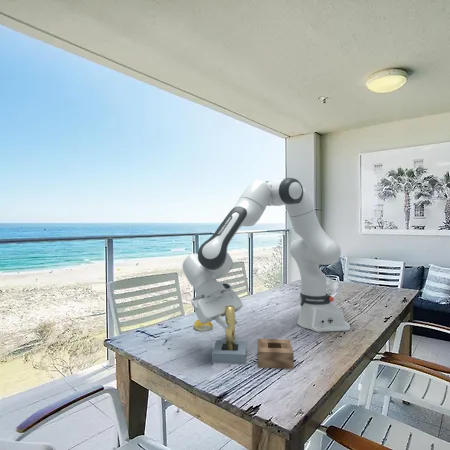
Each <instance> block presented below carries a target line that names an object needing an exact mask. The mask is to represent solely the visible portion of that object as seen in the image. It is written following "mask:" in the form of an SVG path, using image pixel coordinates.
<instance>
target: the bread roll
mask: <svg viewBox="0 0 450 450" xmlns="http://www.w3.org/2000/svg"><path fill="white" fill-rule="evenodd" d="M192 325H193V328H194V330H196V331H199V332H207V331H210V330H212V328H213V323H212V321H210V322H207V323H204V324H203V323H201V322H200V321H199V319H198V318H197V319H196V321H194V323H193V324H192Z"/></svg>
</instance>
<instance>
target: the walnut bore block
mask: <svg viewBox="0 0 450 450" xmlns="http://www.w3.org/2000/svg"><path fill="white" fill-rule="evenodd" d="M257 368H264V369H285V370H294V351H293V346H292V344H291V340H290V339H283V338H282V339H281V338H279V339H278V338H259V337H258V338H257Z"/></svg>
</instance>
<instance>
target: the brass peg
mask: <svg viewBox="0 0 450 450" xmlns="http://www.w3.org/2000/svg"><path fill="white" fill-rule="evenodd" d="M235 316H236V312H235V306H232V305H228V306H225V316H224V317H225V318H224V319H225V320H224V321H225V322H228V324H229V327H228V328H227V329H224V330H225V338H224V339H225V340H224V341H225V346H226V350H229V351H235V341H236V338H235V337H236V336H235V335H236V334H235V333H236V329H235V328H236V325H235Z"/></svg>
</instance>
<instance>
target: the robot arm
mask: <svg viewBox="0 0 450 450" xmlns="http://www.w3.org/2000/svg"><path fill="white" fill-rule="evenodd" d="M267 206H268V207H269V206H271V207H273V206H274V207H275V206H276V207H278V206H279V207H280V206H285V207H286V209H287V213H288V217H289V219H290V223H291V226H292V229H293V231H294V233H295V234H297V236H300V238H297V239H294V240H292V241H291V243H290V247H289V253H290V255H291V257H292V258H293V259H294V261H295V262H296V265H297V267H298V269H299V270H298V271H299V274H300V290H301V291H300V293H299V294H300V295H299V304H300V307H299V316H298V318H297V319H298V320H297V325H298V326H300V327H301V328H304V329H308V330H311V331H313V332H318V333H319V332H321V333H322V332H339V331H340V332H342V331H343V332H345V331H350V330H351V325H350V324H349V322H348V321H346V320H345V316H344V313H343V311H341V309H339V308H338V307H337V306H336V305H335V304H333V302H334V301H335V299H334V297H333V296H331V295H330V294H328V293H327V286H328V285H327V279H328V278H327V276H326V275H325V273H324V272H323V271H322V270H321V269H320V266H319V265H324V266H325V265H326V266H328V265H335V264H337V263H338V262H339V260H340V259H341V252H342V251H341V248H340V244H338V243H337V242H336V241H334V240H333V239H331V237H329V235H328V234H327V233H326V231H324V229H323V227H322V226H321V224H320V221H319V219H318V216H317V214H316V211H315V208H314V205H313V202H312V199H311V196H310V195H309V193H308V192H307V190H306V188H304V187H303V185H302V184H301V182H300V181H299V180H298V179H297V178H294V177H286V178H276V179H273V180H269V181H268V180H267V181H265V180H262V179H255V180H253V181H251V182H250V183H249V185H248V186H247V187H246V188H245V189H244V191H243V192H242V194H241V195H240V197H239V198H238V200H237V202H236V203H235V205H234V206H233V208H232V209H231V210H230V211H229V212H228V213H227V215H226V216H225V218H224V219H223V221H222V222H221V223H220V224H219V226H218V227H217V229H216V230H215V232H214V233H213V234H212V235H211V236H210V237H209V238H208V239H207V240H204V242H202V244H201V245H200V246H199V248H198V250H197V253H191V254H189V255H188V256H187V257H186V258H185V259H184V261H183V262H182V271H183V273H184V275H185V277H186V279H187V281H188V283H189V284H190V286H191V287H193V289H194V293H195V294H196V296H195V297H193V298H192V299H191V305H192V307H193V310H194V313H195V314H196V317H197V320H198V319H199V321H200V322H201V323H203V324H204V323H207V322H210V321H211V322H212V321H215V322H216V323H217V324H219V325H220V326H221V327H222V329H223V330H225V329H227V328H228V327H229V324H228V322H225V320H224V319H223V317H225V306H228V305H232V306H235V313H236V312H237V313H238V311H240V310H241V309H242V308H243V307H244V304H243V302H242V300H241V298H240V297H239V295H238V294H237V293H236V292H235V290H233V287H232V285H231V284H230V283H226V282H220V281H218V280H217V279H220V278H221V277H223V276H225V275H228V273H229V272H230V271H231V269H233V268H232V267H233V259H232V257H231V255H230V254H229V252H228V246H229V244H230V243H231V242H232V240H233V238H234V237H235V235H236V234H237V232H238V230H239V229H241V227H252V226H254V225H256V223H258V221H260V219H261V217H262V215H263V214H264V212H265V210H266V209H267ZM238 323H239V321H238V320H237V318H236V315H235V326H236V325H237V324H238Z"/></svg>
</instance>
